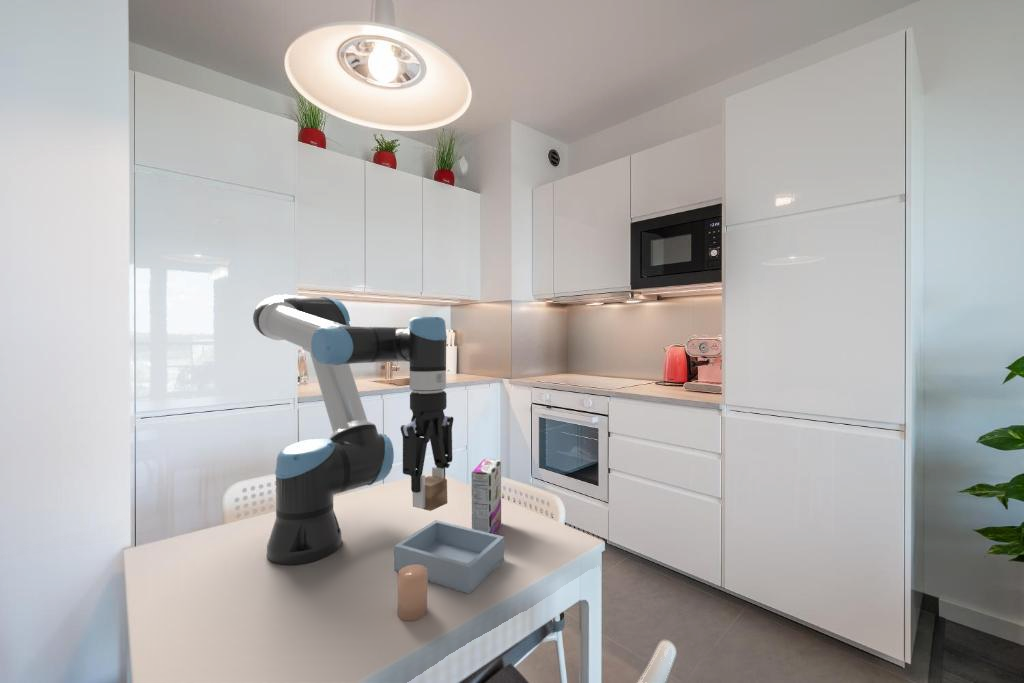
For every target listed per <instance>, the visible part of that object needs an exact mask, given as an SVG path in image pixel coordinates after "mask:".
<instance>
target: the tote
mask: <svg viewBox="0 0 1024 683" xmlns="http://www.w3.org/2000/svg"><path fill="white" fill-rule="evenodd" d="M393 555H394V560H393V561H394V565H393V566H394V571H397V572H399V571H400V569H402V568H403V567H405V566H408V565H422V566H425V567H426V568H427V570H428V582H431V583H434V584H437V585H440V586H444V587H446V588H450V589H452V590H456V591H459V592H462V593H466V594H468V595H470V594H471V593H472V592H473V591H474V590H475V589H476V588H477V587H478V586H479V585H480V584H481V583H482V582H483V581H484V580H486V578H487V577H488V576H489V575H491V573H492V572H493V571H494V570H495V569H496V568H497V567H498V566H499V565H501V563H503V561H505V536H502V535H499V534H496V533H495V534H491V533H487V532H483V531H479V530H474V529H472V528H469V527H465V526H461V525H457V524H453V523H449V522H445V521H440V520H437V519H435V520H434V521H432V522H430V523H429V524H426V525H425V526H424V527H422V528H421V529H419V530H417V531H415V532H414V533H413V534H411V535H409V536H408V537H407V538H405V539H403V540H402V541H400V542H398V543H397V544H395V545H394V554H393Z"/></svg>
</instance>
